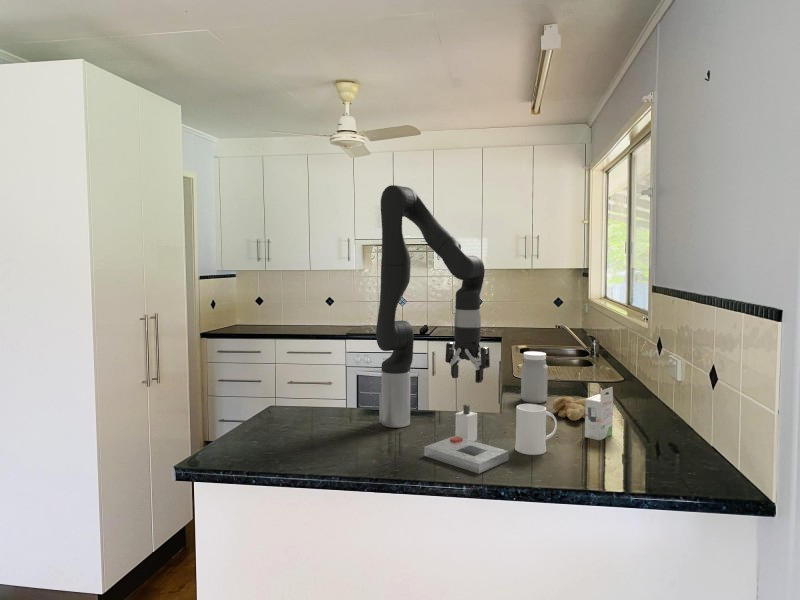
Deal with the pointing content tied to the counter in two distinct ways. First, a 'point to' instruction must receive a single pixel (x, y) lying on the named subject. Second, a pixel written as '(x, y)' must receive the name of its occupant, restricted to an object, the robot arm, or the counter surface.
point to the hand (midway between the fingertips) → (466, 380)
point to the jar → (534, 377)
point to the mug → (532, 429)
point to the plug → (466, 424)
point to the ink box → (599, 415)
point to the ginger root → (570, 407)
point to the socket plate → (466, 454)
